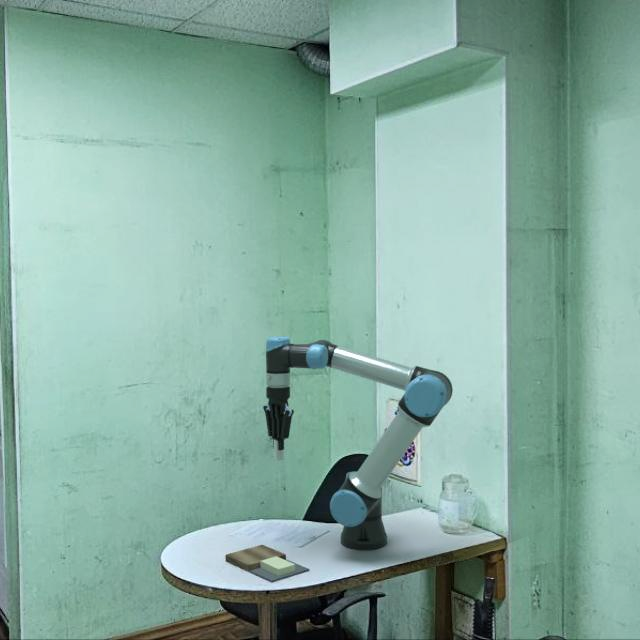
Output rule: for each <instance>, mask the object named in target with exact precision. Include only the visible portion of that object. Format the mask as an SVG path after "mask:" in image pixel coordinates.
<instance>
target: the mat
mask: <svg viewBox="0 0 640 640" xmlns="http://www.w3.org/2000/svg"><path fill="white" fill-rule="evenodd" d="M286 561H288V562H291V563H293V564H295V571H294V572H290V573H287V574H284V575H281V576H278V575H276V574H273V573H271V572H269V571H267V570H265V569H262V568H257V569H254V570H250V572H249V573H250V574H253V575H255V576H257V577H259V578H261V579H264V580H265V581H268V582H270V583H274V582H278V581H280V580H284V579H287V578H291V577H294V576H297V575H299V574H303V573H306V572H309V571H310V568H309V567H305V566H303V565H301V564H298V563H296V562H294V561H292V560H289V559H286Z"/></svg>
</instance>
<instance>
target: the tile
mask: <svg viewBox="0 0 640 640" xmlns="http://www.w3.org/2000/svg"><path fill="white" fill-rule="evenodd" d="M286 560H287V559H286ZM286 560H284V559H281V558H279V557H277V556H276V557H272V558H269V559H265V560H262V561H260V568H262V569H265V570H267V571H269V572H271V573H273V574H276V575H278V576H281V575H284V574H287V573H290V572H294V571H295V564H293V563H291V562H288V561H286Z"/></svg>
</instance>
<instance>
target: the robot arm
mask: <svg viewBox="0 0 640 640" xmlns="http://www.w3.org/2000/svg"><path fill="white" fill-rule="evenodd" d="M265 342H266V343H265V344H266V345H265V360H266V361H265V367H266V370H265V373H266V375H265V376H266V378H265V379H266V381H265V382H266V385H267V387H266V388H265V389H266V390H265V393H266V397H265V398H266V399H268V401H267V405H263V406H262V407H263V410H264V411H263V412H264V413H265V421H266V428H267V434H268V437H270V438H272V448H273V461H276V462H278V461H283V460H284V450H285V440H286V439H289V437H290V433H291V432H290V431H291V425H292V418H293V415H294V414H295V411H294V409H291V408H290V406H289V401H288V400H289V399H290V398H291V387H290V385H291V369H293V368H294V369H309V370H310V369H311V370H318V369H320V370H322V369H325V368H326V367H328V368H331V369H335V370H337V371H341V372H344V373H348V374H349V375H353V376H358V377H361V378H363V379H367V380H370V381H373V382H376V383H379V384H382V385H386V386H389V387H392V388H396V389H398V390H402V391H404V394H403V395H402V396H401V398H400V400H399V401H398V403H397V407H398V412H397V413H396V415H395V416H394V417H393V419H392V420H391V422H390V423H389V425H388V427H387V428H386V430H385V431H384V433H383V434H382V435H381V436H380V438H379V439H378V441H377V442H376V444H375V445H374V447H373V448H372V450H371V452H370V453H369V454H368V455H367V457H366V459H365V460H364V461H363V463H362V464H361V466H360V467H359V469H358V470H357V471H349V472H347V473H346V475H345V479H344V482H343V484H342V485H341V486H340V488H339V489H338V490H337V491H336V492H334V494H333V495H332V496H331V500H330V502H329V509H330V513H331V515H332V518H333V519H334V520H335V521H336V522H337V523H338V524H340V525H342V526H343V528H342V531H341V533H340V544H341V545H342V546H344V547H346V548H349V549H353V550H354V549H355V550H362V551H363V550H364V551H365V550H375V549H380V548H383V547H385V546H386V545H387V544H388V534H387V532H386V530H385V525H384V523H383V517H382V516H383V515H382V513H383V511H382V510H383V509H382V507H383V506H382V505H383V495H382V494H383V491H382V490H383V485H384V484H385V482H387V480H388V478H389V476H390V475H391V474H392V473H393V471H394V469H395V468H396V466H397V465H398V463H399V462H400V461H401V460H402V458H403V456H404V455H405V453H406V452H407V451H408V450H409V447H410V446H411V445H412V444H413V442H414V440H415V439H416V438H417V437H418V435H419V433H420V432H421V431H422V429H423V428H427V427H430V426H431V425H432V424H433V422H434V421H435V419H436V418H437V416H438V415H439V414H440V413H441V411H442V410H443V409H444V406H446V405H447V404H449V402H450V400H451V398H452V397H453V393H454V392H453V391H454V390H453V383H452V382H451V380H450V378H449V377H448V376H447V375H446V374H444V373H443V372H440V371H438V370H434V369H431V368H425V367H422V366H418V365H415V366H413V367H410V366H407V365H404V364H400V363H397V362H394V361H390V360H387V359H384V358H381V357H378V356H373V355H371V354H367V353H364V352H360V351H357V350H354V349H350V348H347V347H344V346H340V345H337V344H334V343H333V342H332V341H330V340H327V339H318V340H317V341H313V342H310V343H299V344H298V343H291V338H289V337H287V336H271V337H268V338H267V339H266V341H265Z"/></svg>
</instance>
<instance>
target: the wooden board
mask: <svg viewBox="0 0 640 640" xmlns="http://www.w3.org/2000/svg"><path fill="white" fill-rule="evenodd" d="M276 556H277V557H279V558H281V559H284V560H287V554H286V553H284V552H281V551H279V550H276V549H274V548H272V547H269V546H267V545H264V544H259V545H256V546H252V547H248V548H244V549H242V550H238V551H234V552H231V553H228V554H225V562H226V563H229V564H231V565H233V566H235V567H238V568H240V569H241V570H244V571H246V572H248V573H250V570H254V569H257V568H260V561H262V560H265V559H269V558H272V557H276Z"/></svg>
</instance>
